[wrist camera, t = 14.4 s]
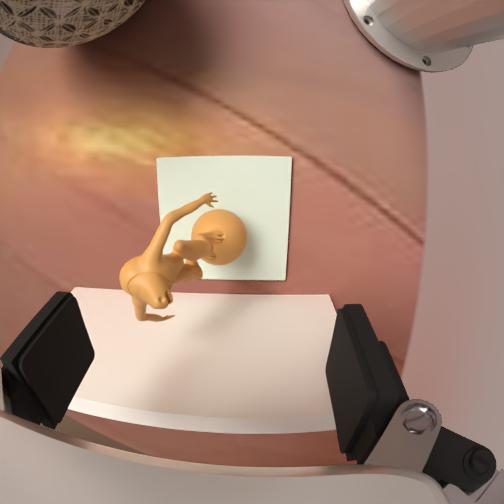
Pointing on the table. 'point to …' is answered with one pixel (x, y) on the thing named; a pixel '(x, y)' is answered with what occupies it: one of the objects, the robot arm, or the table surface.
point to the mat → (233, 207)
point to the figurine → (181, 256)
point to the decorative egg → (62, 20)
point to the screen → (210, 362)
